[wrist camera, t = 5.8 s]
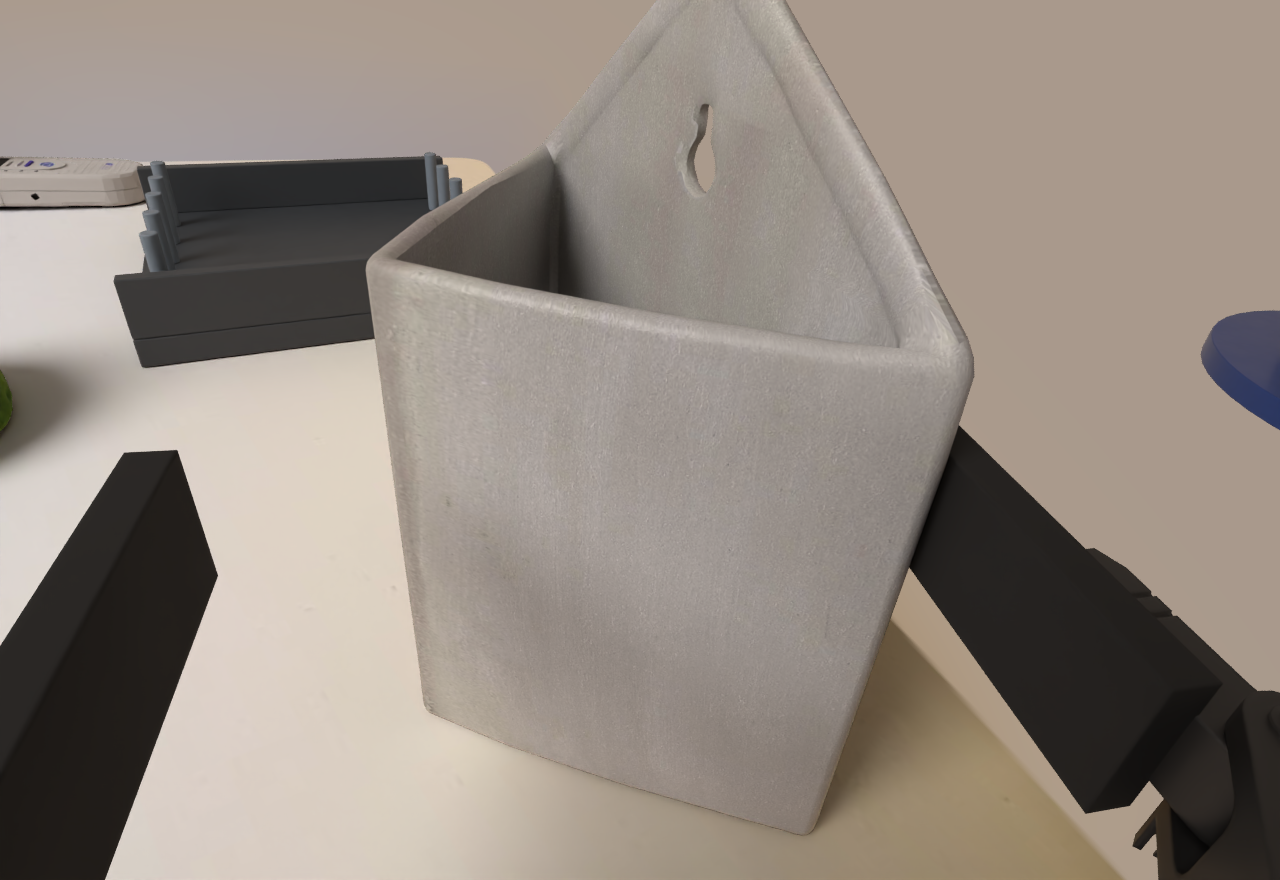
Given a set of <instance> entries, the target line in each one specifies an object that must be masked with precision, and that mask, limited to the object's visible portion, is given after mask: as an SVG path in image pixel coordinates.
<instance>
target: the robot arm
mask: <svg viewBox="0 0 1280 880" xmlns="http://www.w3.org/2000/svg"><path fill="white" fill-rule="evenodd" d="M909 568H910V569H911V570H912V572H913V573H914V575H915V576H916V577H917V579H918V580H919V582H920V583H921V584H922V586H923V587H924V588H925V590H926V591H927V593H928V594H929V595H930V597H931V598H932V600H933V601H934V602H935V604H936V605H937V607H938V608H939V609H940V611H941V612H942V614H943V615H944V616H945V618H946V619H947V621H948V622H949V623H950V625H951V626H952V628H953V629H954V630H955V632H956V633H957V635H958V636H959V637H960V639H961V640H962V642H963V643H964V644H965V646H966V647H967V649H968V650H969V651H970V653H971V654H972V656H973V657H974V658H975V660H976V661H977V663H978V664H979V665H980V667H981V668H982V670H983V671H984V672H985V674H986V675H987V676H988V678H989V679H990V681H991V682H992V683H993V685H994V686H995V688H996V689H997V690H998V692H999V693H1000V695H1001V696H1002V698H1003V699H1004V700H1005V702H1006V703H1007V704H1008V706H1009V707H1010V709H1011V710H1012V711H1013V713H1014V714H1015V716H1016V717H1017V718H1018V720H1019V721H1020V723H1021V724H1022V725H1023V727H1024V728H1025V730H1026V731H1027V732H1028V734H1029V735H1030V737H1031V738H1032V739H1033V741H1034V742H1035V744H1036V745H1037V746H1038V748H1039V749H1040V751H1041V752H1042V753H1043V755H1044V756H1045V758H1046V759H1047V760H1048V762H1049V763H1050V765H1051V766H1052V767H1053V769H1054V770H1055V771H1056V773H1057V774H1058V776H1059V777H1060V779H1061V780H1062V781H1063V783H1064V784H1065V786H1066V787H1067V788H1068V790H1069V791H1070V793H1071V794H1072V795H1073V797H1074V798H1075V800H1076V801H1077V802H1078V804H1079V805H1080V807H1081V808H1082V809H1083V811H1084V812H1085V813H1086V814H1087V813H1092V812H1098V811H1103V810H1109V809H1114V808H1120V807H1126V806H1130V805H1131V803H1132V802H1133V801H1134V800H1135V798H1136V797H1137V796H1138V794H1139V793H1140V792H1141V791H1142V789H1143V788H1144V787H1145V785H1146V784H1147V783H1148V781H1150V782H1151V783H1152V784H1153V786H1154V787H1155V788H1156V789H1157V791H1158V792H1159V793H1160V794H1161V795H1162V797H1163V798H1164V800H1163V801H1162V802H1161V803H1160V805H1159V806H1158V807H1157V808H1156V810H1155V811H1154V812H1153V813H1152V815H1151V816H1150V817H1149V819H1148V820H1147V821H1146V822H1145V823H1144V825H1143V826H1142V827H1141V828H1140V830H1139V831H1138V832H1137V833H1136V835H1135V839H1134V842H1133V847H1135V848H1137V849H1139V850H1141V849H1142V848H1143V847H1144V846H1145V844H1146V843H1147V842H1148V841H1149V840H1150V838H1151V837H1152V836H1153V835H1154V834H1156V838H1157V850H1156V851H1155V852H1154V853H1153V856H1155V857H1157V859H1158V877H1159V878H1158V879H1159V880H1280V693H1279V692H1275V691H1257V690H1256V689H1254V688H1253V687H1252V686H1251V685H1250V684H1249V683H1248V682H1247V681H1246V680H1244V679H1243V678H1242V677H1241V676H1240V675H1239V674H1238V673H1237V672H1236V671H1235V670H1234V669H1233V668H1232V667H1231V666H1230V665H1228V664H1227V663H1226V662H1225V661H1224V660H1223V659H1222V658H1221V657H1220V656H1219V655H1218V654H1217V653H1216V652H1215V651H1214V650H1213V649H1211V647H1209V645H1207V644H1206V643H1205V642H1204V641H1203V640H1202V639H1201V638H1200V637H1199V636H1198V635H1197V634H1196V633H1195V632H1194V631H1193V630H1191V628H1189V627H1188V626H1187V625H1186V624H1185V623H1184V622H1183V621H1182V620H1181V619H1180V618H1179V617H1178V616H1173V615H1172V613H1171V612H1172V610H1170V609H1169V608H1168V607H1167V606H1166V605H1165V604H1164V603H1163V602H1162V601H1161V600H1160V599H1159V598H1158V597H1157V596H1154V597H1153V596H1152V595H1151V591H1150V590H1149V589H1148V588H1147V587H1146V586H1145V585H1144V584H1143V583H1142V582H1141V581H1140V580H1139V579H1137V577H1136V576H1134V575H1133V574H1132V573H1131V572H1130V571H1129V570H1128V569H1127V568H1126V567H1124V566H1123V565H1121V564H1119V563H1118V562H1116V561H1114V560H1113V559H1111V558H1110V557H1108V556H1106V555H1105V554H1103V553H1101V552H1100V551H1098V550H1096V549H1095V548H1092V549H1085V548H1084V547H1083V546H1082V545H1081V544H1080V543H1079V542H1078V541H1077V540H1076V539H1075V538H1074V537H1073V536H1072V535H1071V534H1070V533H1068V531H1067V530H1066V529H1065V528H1063V526H1061V524H1059V523H1058V522H1057V521H1056V520H1055V519H1054V518H1053V517H1052V516H1051V515H1050V514H1049V513H1048V512H1047V511H1046V510H1045V509H1044V508H1043V507H1042V506H1041V505H1040V504H1039V503H1038V502H1037V501H1036V500H1035V499H1034V498H1033V497H1032V496H1031V495H1030V494H1029V493H1028V492H1026V490H1025V489H1024V488H1023V487H1022V486H1021V485H1020V484H1018V482H1016V481H1015V480H1014V479H1013V478H1012V477H1011V476H1010V475H1009V474H1008V473H1007V472H1006V471H1005V470H1004V469H1003V468H1002V467H1001V466H1000V465H999V464H998V463H997V462H996V461H995V460H994V459H993V458H992V457H991V456H990V455H989V454H988V453H987V452H986V451H985V450H984V449H983V448H982V447H981V446H980V445H979V444H978V443H977V442H976V441H975V440H974V439H972V438H971V437H970V436H969V435H968V434H967V433H966V432H965V431H964V430H963V429H962V428H961V427H960V426H958V429H957V432H956V435H955V438H954V441H953V444H952V447H951V451H950V454H949V457H948V460H947V463H946V466H945V469H944V472H943V475H942V477H941V480H940V483H939V486H938V488H937V491H936V494H935V497H934V500H933V502H932V505H931V508H930V511H929V513H928V516H927V519H926V522H925V524H924V527H923V530H922V533H921V535H920V538H919V541H918V544H917V546H916V549H915V552H914V555H913V558H912V560H911V563H910V566H909ZM217 577H218V574H217V571H216V568H215V565H214V562H213V559H212V556H211V553H210V549H209V546H208V543H207V540H206V537H205V534H204V531H203V528H202V525H201V522H200V519H199V516H198V512H197V509H196V506H195V503H194V500H193V497H192V494H191V491H190V488H189V485H188V482H187V479H186V475H185V472H184V469H183V466H182V463H181V460H180V457H179V454H178V451H177V450H170V451H150V452H129V453H124V454H123V455H122V457H121V458H120V460H119V462H118V463H117V465H116V466H115V468H114V469H113V471H112V472H111V474H110V476H109V477H108V479H107V480H106V482H105V483H104V485H103V486H102V488H101V490H100V491H99V493H98V494H97V496H96V497H95V499H94V501H93V502H92V504H91V505H90V507H89V508H88V510H87V511H86V513H85V515H84V516H83V518H82V519H81V521H80V522H79V524H78V525H77V527H76V529H75V530H74V532H73V533H72V535H71V536H70V538H69V540H68V541H67V543H66V544H65V546H64V547H63V549H62V550H61V552H60V554H59V555H58V557H57V558H56V560H55V561H54V563H53V564H52V566H51V568H50V569H49V571H48V572H47V574H46V575H45V577H44V579H43V580H42V582H41V583H40V585H39V586H38V588H37V589H36V591H35V593H34V594H33V596H32V597H31V599H30V600H29V602H28V603H27V605H26V607H25V608H24V610H23V611H22V613H21V614H20V616H19V618H18V619H17V621H16V622H15V624H14V625H13V627H12V628H11V630H10V632H9V633H8V635H7V636H6V638H5V639H4V641H3V642H2V644H1V646H0V880H105V878H106V875H107V873H108V870H109V867H110V865H111V862H112V859H113V857H114V854H115V851H116V848H117V846H118V843H119V840H120V838H121V835H122V832H123V830H124V827H125V824H126V822H127V819H128V816H129V814H130V811H131V808H132V805H133V803H134V800H135V797H136V795H137V792H138V789H139V787H140V784H141V781H142V779H143V776H144V773H145V771H146V768H147V765H148V762H149V760H150V757H151V754H152V752H153V749H154V746H155V744H156V741H157V738H158V736H159V733H160V730H161V727H162V725H163V722H164V719H165V717H166V714H167V711H168V709H169V706H170V703H171V701H172V698H173V695H174V693H175V690H176V687H177V684H178V682H179V679H180V676H181V674H182V671H183V668H184V666H185V663H186V660H187V658H188V655H189V652H190V650H191V647H192V644H193V641H194V639H195V636H196V633H197V631H198V628H199V625H200V623H201V620H202V617H203V615H204V612H205V609H206V606H207V604H208V601H209V598H210V596H211V593H212V590H213V588H214V585H215V582H216V580H217Z"/></svg>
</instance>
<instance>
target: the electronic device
mask: <svg viewBox="0 0 1280 880" xmlns="http://www.w3.org/2000/svg"><path fill="white" fill-rule="evenodd" d="M137 166H143V165H142V164H140V163H138V162H134V161H130V160H124V159H108V158H106V159H101V158H98V159H95V158H52V157H51V158H44V157H0V206H118V205H128V204H133V203H138V202H141V201H143V200H145V197H144V194H143V190H142V187H141V183H140V180H139V176H138V173H137Z"/></svg>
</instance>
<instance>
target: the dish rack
mask: <svg viewBox="0 0 1280 880" xmlns="http://www.w3.org/2000/svg"><path fill="white" fill-rule="evenodd" d="M150 165H151V166H137V173H138V176H139V180H140V183H141V187H142V190H143V194H144V197H145V201H146V204H147V208H148V210H146V211H144V212H143V213H142V214H143V218H144V221H145V225H146V228H147V231H143V232H141V233H139V237H140V240H141V243H142V247H143V250H144V253H145V257H144V264H143V272H142V273H135V274H123V275H115V278H114V284H115V287H116V290H117V294H118V297H119V300H120V303H121V306H122V309H123V312H124V315H125V318H126V321H127V324H128V327H129V330H130V333H131V336H132V338H133V339H134V341H133V342H134V345H135V348H136V351H137V354H138V357H139V360H140V363H141V366H142V367H151V366H158V365H166V364H174V363H182V362H190V361H197V360H205V359H213V358H221V357H229V356H236V355H244V354H252V353H260V352H268V351H275V350H283V349H291V348H299V347H307V346H314V345H322V344H330V343H338V342H346V341H353V340H361V339H369V338H375V336H374V328H373V321H372V313H371V306H370V299H369V291H368V284H367V277H366V265H367V262H368V260H369V259H370V257H371V256H372V255H373V254H374V253H376V252H377V251H378V250H379V249H381V248H382V247H383V246H385V245H386V244H387V243H388V242H390V241H391V240H392V239H394V238H395V237H396V236H397V235H399V234H400V233H401V232H403V231H404V230H405V229H406V228H408V227H409V226H410V225H412V224H413V223H414V222H415V221H417V220H418V219H419V218H421V217H422V216H424V215H425V214H427V213H429V212H431V211H432V210H434V209H436V208H438V207H439V206H441V205H443V204H445V203H447V202H448V201H450V200H452V199H454V198H455V197H457V196H459V195H461V194H462V179H460V178H450V179H449V172H448V166H447V165H443V161H442V158H441V157H440V156H436V154H435V153H430V152H429V153H425V154H424V156H422V157H396V158H395V157H393V158H364V159H334V160H304V161H275V162H245V163H216V164H186V165H165V163H164V162H162V161H153V162H151V163H150ZM449 186H450V188H449Z"/></svg>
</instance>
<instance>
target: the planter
mask: <svg viewBox="0 0 1280 880" xmlns="http://www.w3.org/2000/svg"><path fill="white" fill-rule="evenodd" d="M709 105H711V106H712V108H713V128H712V137H711V145H712V148H713V153H714V157H715V178H714V180H713V183H712V186H711V187H710V189H709V190H708V192H707V193H706V192H705V191H704V190H703V189H702V187H701V186H700V184H699V183H698V179H697V175H696V171H695V166H694V158H695V153H696V150H697V147H698V145H699V143H700V142H701V140H702V139H703V137H704V135H705V131H706V126H707V119H708V107H709ZM366 277H367V284H368V291H369V299H370V306H371V313H372V321H373V328H374V336H375V343H376V350H377V358H378V366H379V373H380V381H381V388H382V396H383V404H384V411H385V419H386V426H387V434H388V441H389V449H390V457H391V464H392V472H393V479H394V487H395V494H396V502H397V510H398V517H399V525H400V532H401V539H402V547H403V554H404V561H405V568H406V575H407V582H408V590H409V597H410V604H411V611H412V618H413V625H414V633H415V640H416V647H417V654H418V661H419V669H420V677H421V685H422V693H423V700H424V705H425V707H426V709H427V711H429V712H430V713H432V714H434V715H437V716H439V717H441V718H444V719H446V720H449V721H451V722H453V723H456V724H458V725H460V726H463V727H465V728H468V729H470V730H472V731H475V732H477V733H480V734H482V735H484V736H487V737H489V738H491V739H494V740H496V741H499V742H501V743H503V744H506V745H508V746H511V747H514V748H517V749H520V750H523V751H526V752H529V753H532V754H535V755H538V756H540V757H543V758H546V759H549V760H552V761H555V762H558V763H561V764H564V765H567V766H570V767H573V768H576V769H579V770H582V771H585V772H588V773H591V774H594V775H597V776H600V777H603V778H606V779H609V780H612V781H615V782H617V783H620V784H624V785H627V786H631V787H634V788H638V789H641V790H645V791H648V792H651V793H655V794H658V795H662V796H665V797H669V798H672V799H676V800H679V801H683V802H686V803H689V804H693V805H696V806H700V807H703V808H707V809H710V810H714V811H717V812H720V813H724V814H727V815H731V816H734V817H738V818H741V819H745V820H748V821H752V822H756V823H759V824H763V825H766V826H770V827H774V828H777V829H781V830H784V831H788V832H791V833H795V834H799V835H806V834H808V833H810V832H811V831H812V830H813V829H814V827H815V825H816V822H817V820H818V817H819V814H820V811H821V809H822V806H823V803H824V800H825V798H826V795H827V792H828V789H829V787H830V784H831V781H832V778H833V776H834V773H835V770H836V767H837V764H838V762H839V759H840V756H841V753H842V751H843V748H844V745H845V742H846V740H847V737H848V734H849V731H850V729H851V726H852V723H853V720H854V718H855V715H856V712H857V709H858V707H859V704H860V701H861V698H862V696H863V693H864V690H865V687H866V685H867V682H868V679H869V676H870V673H871V671H872V668H873V665H874V662H875V660H876V657H877V654H878V651H879V649H880V646H881V643H882V640H883V638H884V635H885V632H886V629H887V627H888V624H889V621H890V618H891V616H892V613H893V610H894V607H895V604H896V602H897V599H898V596H899V593H900V591H901V588H902V585H903V582H904V579H905V577H906V574H907V571H908V569H909V566H910V563H911V560H912V558H913V555H914V552H915V549H916V546H917V544H918V541H919V538H920V535H921V533H922V530H923V527H924V524H925V522H926V519H927V516H928V513H929V511H930V508H931V505H932V502H933V500H934V497H935V494H936V491H937V488H938V486H939V483H940V480H941V477H942V475H943V472H944V469H945V466H946V463H947V460H948V457H949V454H950V451H951V447H952V444H953V441H954V438H955V435H956V432H957V429H958V426H959V422H960V419H961V416H962V413H963V410H964V406H965V403H966V400H967V397H968V394H969V391H970V388H971V385H972V382H973V378H974V357H973V354H972V350H971V347H970V344H969V340H968V338H967V336H966V334H965V332H964V330H963V328H962V326H961V325H960V322H959V321H958V319H957V317H956V315H955V313H954V311H953V309H952V307H951V305H950V304H949V302H948V300H947V298H946V296H945V294H944V292H943V290H942V289H941V287H940V285H939V283H938V281H937V279H936V277H935V275H934V273H933V271H932V269H931V267H930V265H929V263H928V261H927V259H926V257H925V255H924V253H923V251H922V249H921V247H920V245H919V243H918V241H917V239H916V237H915V235H914V233H913V231H912V229H911V227H910V225H909V223H908V221H907V219H906V217H905V215H904V213H903V211H902V209H901V207H900V205H899V203H898V201H897V199H896V197H895V195H894V193H893V192H892V190H891V188H890V186H889V184H888V182H887V180H886V178H885V176H884V174H883V173H882V171H881V169H880V167H879V165H878V164H877V162H876V160H875V158H874V156H873V155H872V153H871V151H870V149H869V148H868V146H867V144H866V142H865V140H864V139H863V137H862V135H861V133H860V132H859V130H858V128H857V126H856V125H855V123H854V121H853V119H852V118H851V116H850V114H849V112H848V110H847V108H846V107H845V105H844V103H843V101H842V100H841V98H840V96H839V94H838V92H837V91H836V89H835V87H834V85H833V84H832V82H831V80H830V78H829V77H828V75H827V73H826V71H825V69H824V68H823V66H822V64H821V63H820V61H819V59H818V57H817V55H816V54H815V52H814V50H813V48H812V47H811V45H810V43H809V41H808V40H807V38H806V36H805V34H804V32H803V31H802V29H801V27H800V25H799V23H798V21H797V20H796V18H795V16H794V14H793V13H792V11H791V9H790V8H789V6H788V4H787V2H786V0H657V1H656V2H655V3H654V5H653V6H652V7H651V8H650V10H649V11H648V12H647V14H646V15H645V16H644V18H643V19H642V20H641V21H640V23H639V24H638V25H637V26H636V28H635V29H634V30H633V31H632V33H631V34H630V35H629V36H628V38H627V39H626V40H625V41H624V43H623V44H622V45H621V46H620V48H619V49H618V50H617V52H616V53H615V54H614V55H613V57H612V58H611V59H610V60H609V62H608V63H607V64H606V66H605V67H604V68H603V70H602V71H601V72H600V73H599V75H598V76H597V77H596V79H595V80H594V82H593V83H592V84H591V86H590V87H589V88H588V90H587V91H586V92H585V94H584V95H583V96H582V98H581V99H580V100H579V101H578V103H577V104H576V105H575V106H574V108H573V109H572V110H571V111H570V113H569V114H568V115H567V116H566V117H565V118H564V119H563V121H562V122H561V123H560V124H559V125H558V126H557V127H556V128H555V129H554V131H553V132H552V133H551V134H550V135H549V136H548V138H547V139H546V140H545V142H544V143H543V144H542V145H541V146H539V147H538V148H537V149H536V150H534V151H533V152H532V153H530V154H529V155H528V156H527V157H525V158H524V159H522V160H521V161H519V162H517V163H515V164H513V165H512V166H510V167H508V168H506V169H505V170H503V171H501V172H499V173H498V174H496V175H494V176H492V177H491V178H489V179H487V180H485V181H484V182H482V183H480V184H478V185H476V186H475V187H473V188H471V189H469V190H468V191H466V192H464V193H462V194H461V195H459V196H457V197H455V198H454V199H452V200H450V201H448V202H447V203H445V204H443V205H441V206H439V207H438V208H436V209H434V210H432V211H431V212H429V213H427V214H425V215H424V216H422V217H421V218H419V219H418V220H417V221H415V222H414V223H413V224H412V225H410V226H409V227H408V228H406V229H405V230H404V231H403V232H401V233H400V234H399V235H397V236H396V237H395V238H394V239H392V240H391V241H390V242H388V243H387V244H386V245H385V246H383V247H382V248H381V249H379V250H378V251H377V252H376V253H374V254H373V255H372V256H371V257H370V259H369V260H368V262H367V265H366Z"/></svg>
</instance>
